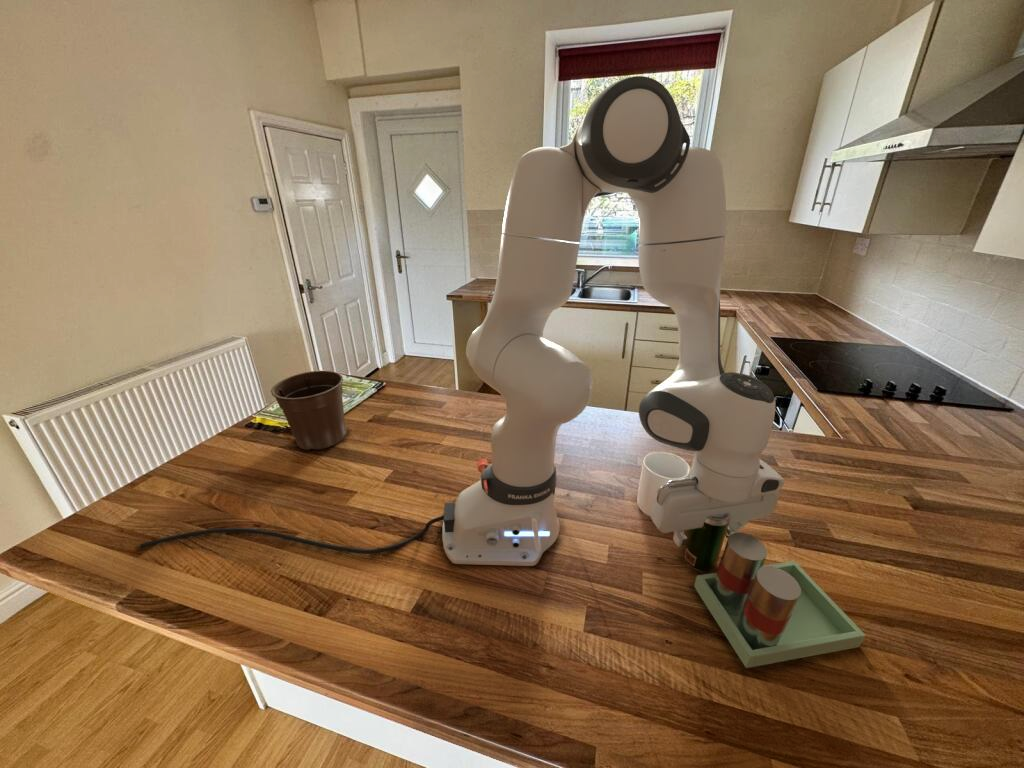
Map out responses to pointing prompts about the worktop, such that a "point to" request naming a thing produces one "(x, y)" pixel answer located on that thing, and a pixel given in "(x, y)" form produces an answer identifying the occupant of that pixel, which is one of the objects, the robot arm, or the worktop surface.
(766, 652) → the can tray
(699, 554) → the beer can
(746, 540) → the silver can left
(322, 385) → the plant pot
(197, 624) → the worktop surface
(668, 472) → the mug
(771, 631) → the silver can right
